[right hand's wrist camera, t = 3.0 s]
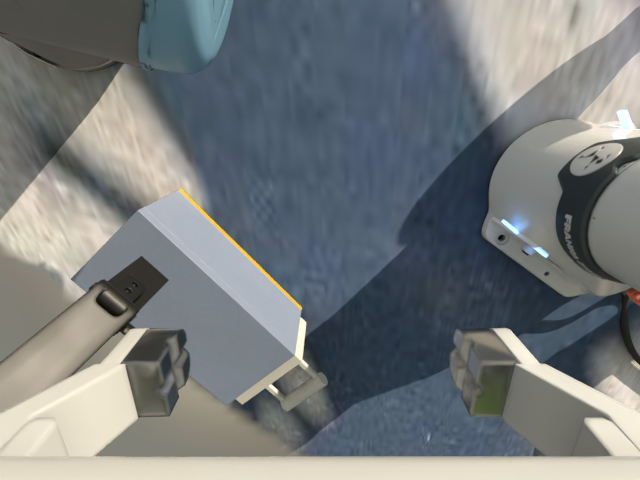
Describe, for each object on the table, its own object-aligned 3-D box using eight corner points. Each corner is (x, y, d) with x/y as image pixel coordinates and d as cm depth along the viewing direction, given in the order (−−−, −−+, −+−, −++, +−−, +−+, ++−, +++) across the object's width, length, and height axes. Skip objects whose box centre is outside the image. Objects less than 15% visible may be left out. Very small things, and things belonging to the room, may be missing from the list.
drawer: (336, 351, 48) (337, 394, 40) (285, 387, 50) (277, 434, 43) (193, 212, 41) (164, 234, 34) (142, 261, 44) (105, 291, 36)
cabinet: (301, 307, 46) (295, 355, 37) (245, 351, 49) (226, 406, 40) (180, 188, 41) (137, 209, 32) (124, 244, 44) (70, 279, 35)
